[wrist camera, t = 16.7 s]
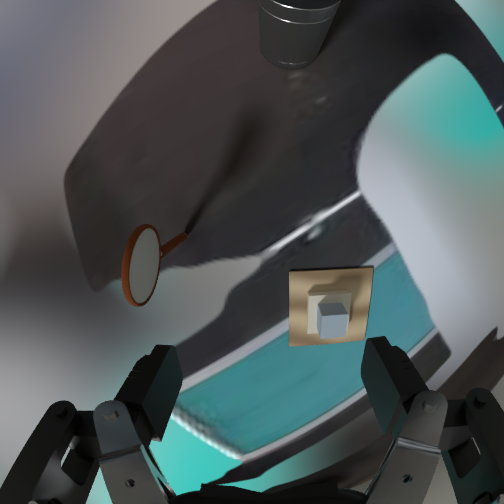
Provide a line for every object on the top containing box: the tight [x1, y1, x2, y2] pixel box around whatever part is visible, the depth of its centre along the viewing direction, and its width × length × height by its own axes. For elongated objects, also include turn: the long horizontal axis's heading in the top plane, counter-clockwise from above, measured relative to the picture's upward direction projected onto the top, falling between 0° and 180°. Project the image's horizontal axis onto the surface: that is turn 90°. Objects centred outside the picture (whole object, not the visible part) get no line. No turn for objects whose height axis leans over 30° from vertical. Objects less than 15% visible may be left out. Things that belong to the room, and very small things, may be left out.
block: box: [316, 303, 348, 339], centre depth 40 cm, size 4×4×4 cm
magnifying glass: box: [121, 224, 187, 307], centre depth 32 cm, size 9×2×20 cm, turn 172°
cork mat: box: [289, 267, 373, 346], centre depth 44 cm, size 14×14×1 cm
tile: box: [306, 290, 351, 334], centre depth 43 cm, size 7×2×7 cm
